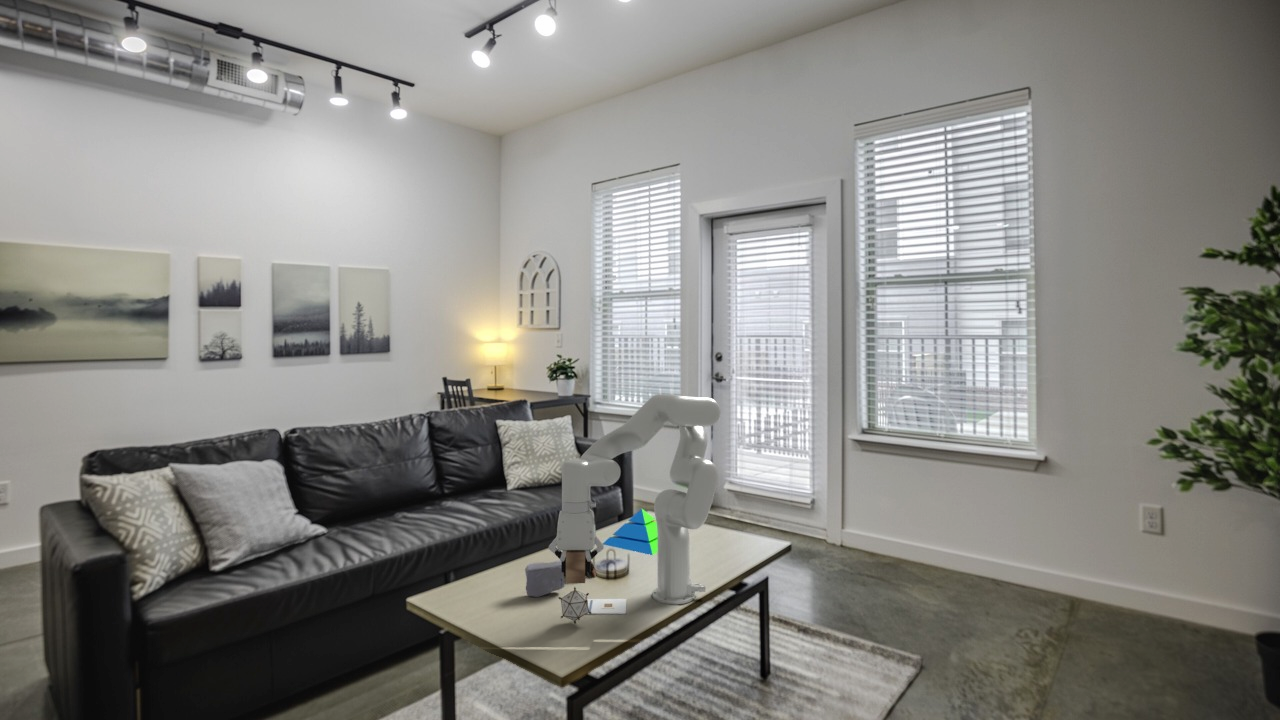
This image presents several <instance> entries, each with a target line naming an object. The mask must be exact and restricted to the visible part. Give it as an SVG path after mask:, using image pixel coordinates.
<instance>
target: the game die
mask: <svg viewBox="0 0 1280 720" xmlns="http://www.w3.org/2000/svg"><path fill="white" fill-rule="evenodd" d="M589 594H590V593H589V592H587V593H586V594H585V593H583V592H581V591H578V590H577V588H576V586H574V587H573V590H572V591H571V590H570V592H569V593H567V594H566V595H564V596H563V597H560V596H558V597H557V599H559V600H560V604H561V613H562V615H561V616H560V619H563V617H564V618H566V619H569V620H571V621H573V624H577V622H576V621H580V619H581V618H582V617H584V616H586V615H588V614H587V613H590V614H589V615H593V614H592V613H591V612H589V608H588V600H587V599H588V596H589Z"/></svg>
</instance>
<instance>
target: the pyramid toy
mask: <svg viewBox="0 0 1280 720" xmlns="http://www.w3.org/2000/svg"><path fill="white" fill-rule="evenodd" d="M602 544H603V545H604V546H607V547H613V548H618V549H623V550H627V551H631V552H635V551H636V552H637V553H640V554H644V553H645V555H649V554H650V556H654V555H656V554H658V548H657V544H658V535H657V523H656V517H655V518H654V516H652V515H651V514H650V513H648V512H647V511H646V510H645V509H643V508H640V509H639V510H638V511H637V512H636V513H635V514H634V515H633V516H631V518H630V519H628V521H627V522H625V523H624V524H623V525H621V526H620V527H619V528H618V529H617V530H616V531H615V532H614V533H612V535H611V536H609V537H608V538H607V539H606V540H605V541H604V542H603V543H602ZM655 553H656V554H655Z"/></svg>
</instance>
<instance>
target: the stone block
mask: <svg viewBox="0 0 1280 720" xmlns="http://www.w3.org/2000/svg"><path fill="white" fill-rule="evenodd" d="M524 571H525V577H526V578H525V579H526V583H525V590H526V595H527V596H529V597H535V598H539V597H542V596H545V595H549V594H551V593H552V592H556V591H560V590H562V589H563V588H564V587H565V577H564V572H562V562H561V561H560V559H559V560H555V561H549V562H544V561H541V562H532V563H529V564H528V565H526V566H525V569H524Z"/></svg>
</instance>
